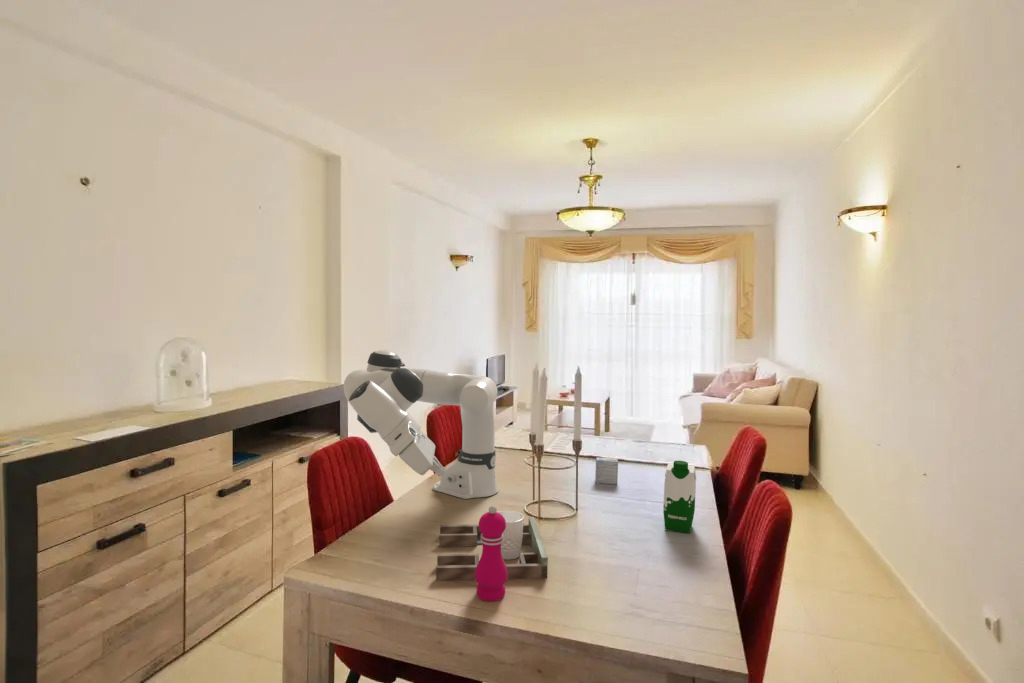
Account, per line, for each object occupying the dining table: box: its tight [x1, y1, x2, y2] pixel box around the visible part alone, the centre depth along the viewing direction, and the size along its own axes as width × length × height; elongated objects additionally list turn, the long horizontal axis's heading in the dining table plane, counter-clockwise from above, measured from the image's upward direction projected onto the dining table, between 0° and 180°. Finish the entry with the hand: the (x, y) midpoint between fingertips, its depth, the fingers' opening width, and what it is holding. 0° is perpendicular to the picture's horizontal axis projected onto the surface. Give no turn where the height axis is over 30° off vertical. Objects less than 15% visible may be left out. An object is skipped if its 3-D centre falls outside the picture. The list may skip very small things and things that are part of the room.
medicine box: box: [594, 457, 619, 485], centre depth 204 cm, size 8×4×9 cm, turn 84°
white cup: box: [497, 510, 525, 560], centre depth 143 cm, size 8×8×10 cm
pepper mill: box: [474, 505, 508, 602], centre depth 122 cm, size 7×7×20 cm
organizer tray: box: [435, 516, 549, 581], centre depth 142 cm, size 26×25×5 cm
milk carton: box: [662, 460, 697, 535], centre depth 163 cm, size 9×9×20 cm
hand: (442, 473), depth 140 cm, fingers closed
